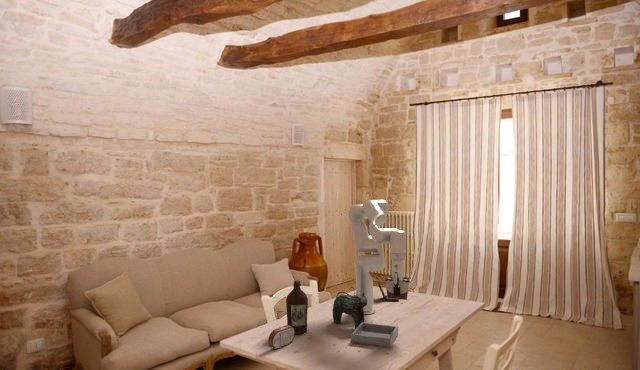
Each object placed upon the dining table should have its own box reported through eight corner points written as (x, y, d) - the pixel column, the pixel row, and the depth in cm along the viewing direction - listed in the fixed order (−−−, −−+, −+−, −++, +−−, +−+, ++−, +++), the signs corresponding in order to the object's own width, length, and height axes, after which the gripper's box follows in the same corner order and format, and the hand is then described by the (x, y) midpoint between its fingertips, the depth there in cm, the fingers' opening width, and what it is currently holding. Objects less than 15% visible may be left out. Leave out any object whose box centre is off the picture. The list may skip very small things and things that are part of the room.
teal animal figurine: (368, 329, 226) (368, 288, 226) (360, 332, 221) (360, 291, 221) (337, 320, 239) (337, 282, 239) (329, 323, 235) (329, 284, 234)
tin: (291, 340, 211) (291, 322, 210) (296, 342, 209) (296, 323, 208) (267, 350, 199) (267, 331, 199) (272, 352, 197) (272, 332, 197)
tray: (351, 343, 207) (351, 334, 207) (361, 330, 224) (361, 322, 224) (390, 348, 201) (390, 339, 201) (398, 334, 217) (398, 326, 217)
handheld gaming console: (398, 302, 274) (398, 285, 274) (378, 301, 275) (378, 285, 275) (397, 297, 284) (397, 281, 283) (377, 297, 284) (377, 281, 284)
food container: (411, 297, 221) (411, 276, 221) (410, 300, 215) (410, 279, 215) (386, 294, 224) (386, 274, 224) (384, 298, 218) (384, 277, 218)
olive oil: (284, 329, 226) (284, 279, 225) (305, 327, 228) (305, 277, 228) (288, 336, 216) (287, 284, 215) (310, 334, 218) (309, 282, 217)
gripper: (403, 259, 209) (403, 299, 210) (408, 253, 225) (408, 290, 226) (386, 258, 212) (386, 297, 212) (393, 252, 228) (393, 289, 228)
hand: (397, 293), depth 219 cm, fingers closed on food container, 5 cm apart
